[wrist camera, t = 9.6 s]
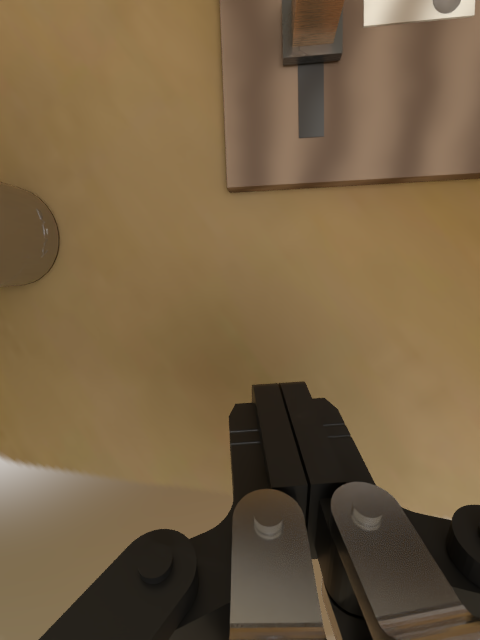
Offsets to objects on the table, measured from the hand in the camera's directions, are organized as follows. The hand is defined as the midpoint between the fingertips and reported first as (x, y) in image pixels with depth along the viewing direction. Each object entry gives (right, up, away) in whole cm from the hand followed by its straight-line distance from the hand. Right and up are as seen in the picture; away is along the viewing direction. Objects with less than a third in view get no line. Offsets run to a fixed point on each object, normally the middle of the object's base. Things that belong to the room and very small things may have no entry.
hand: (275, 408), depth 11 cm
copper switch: (+4, +25, +17) cm, 31 cm away
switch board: (+13, +23, +19) cm, 33 cm away
